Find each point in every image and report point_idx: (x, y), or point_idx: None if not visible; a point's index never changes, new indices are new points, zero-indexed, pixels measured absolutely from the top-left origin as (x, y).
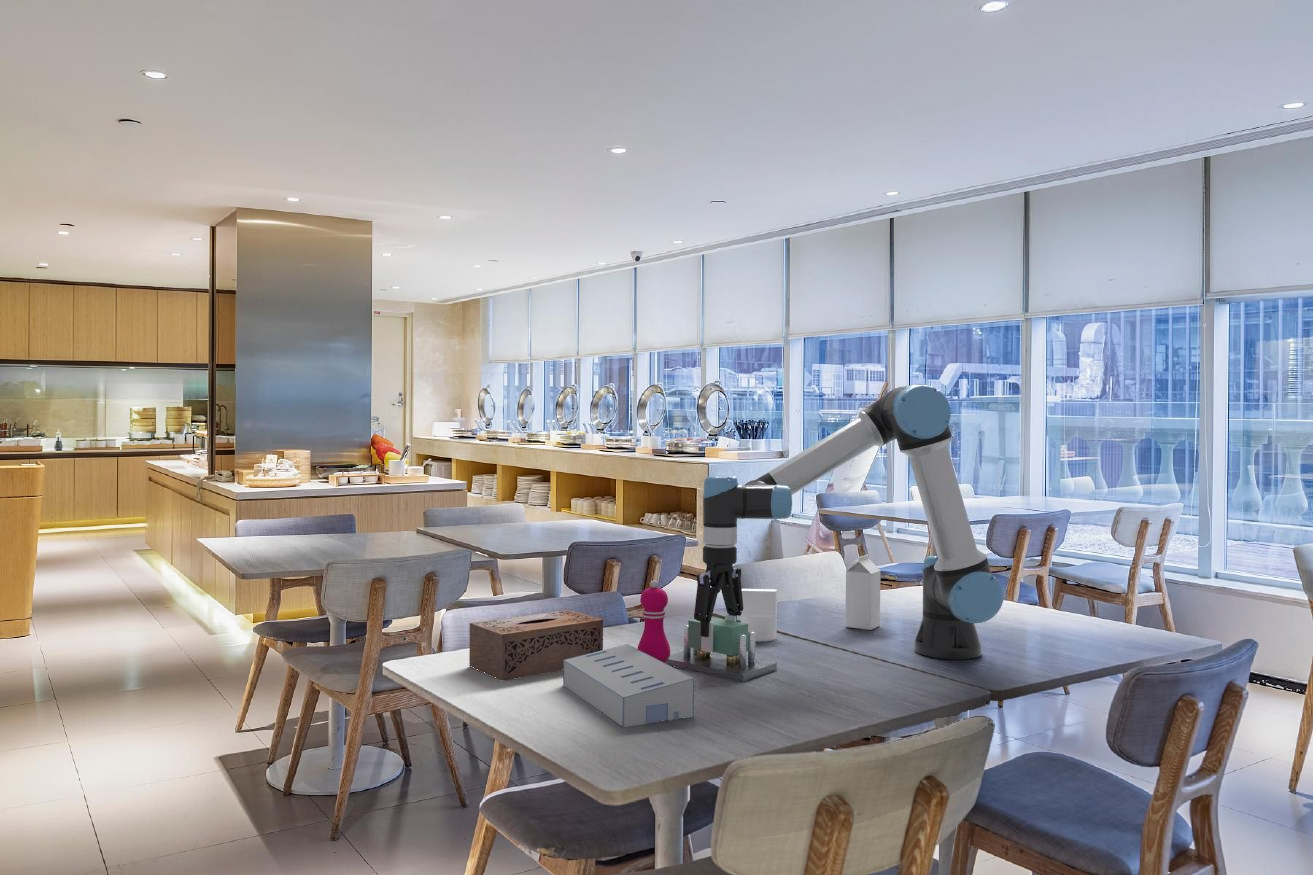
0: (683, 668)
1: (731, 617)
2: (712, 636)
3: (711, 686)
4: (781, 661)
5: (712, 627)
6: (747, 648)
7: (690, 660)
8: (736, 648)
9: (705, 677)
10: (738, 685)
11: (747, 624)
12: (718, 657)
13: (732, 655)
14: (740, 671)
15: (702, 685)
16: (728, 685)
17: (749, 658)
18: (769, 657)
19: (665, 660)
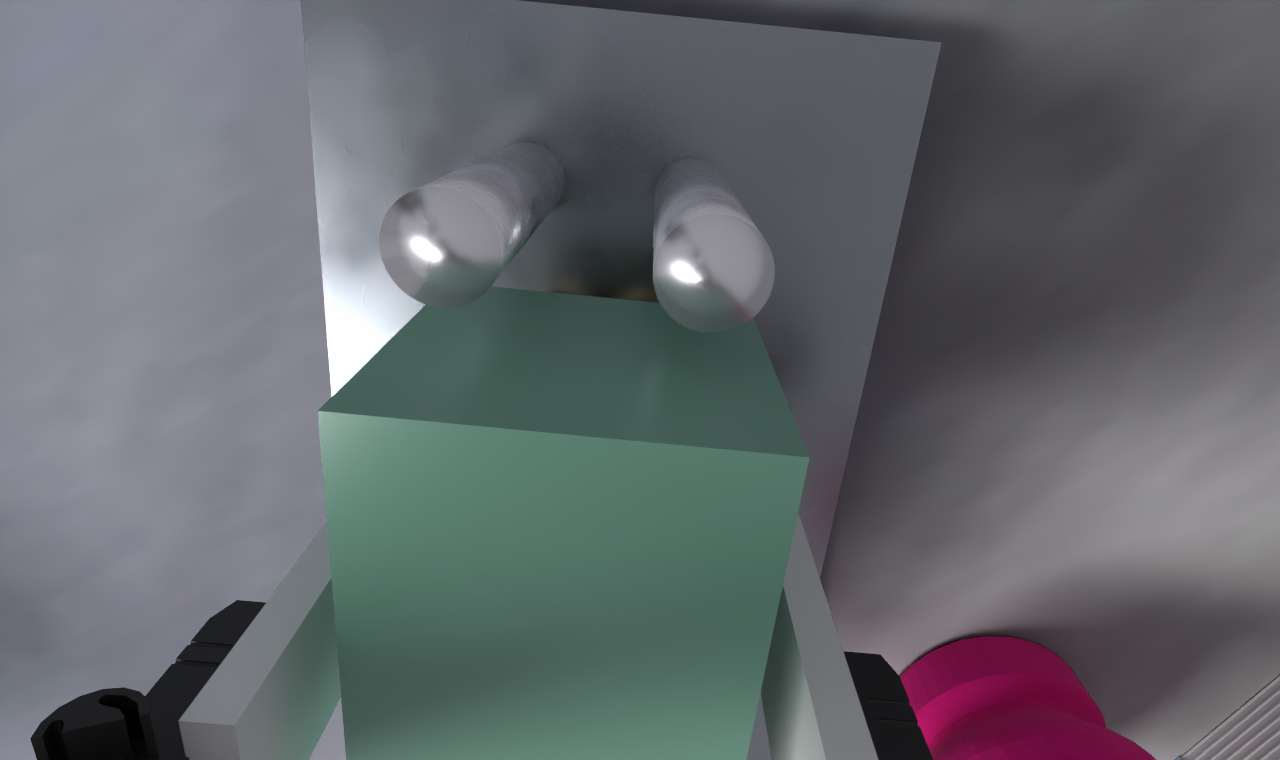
0: None
1: (253, 750)
2: (806, 620)
3: (1189, 208)
4: (40, 111)
5: (836, 710)
6: None
7: None
8: (671, 322)
9: (936, 386)
10: (1061, 15)
11: (343, 405)
12: None
13: None
14: (842, 130)
15: (1185, 285)
16: (1099, 97)
17: (557, 192)
18: (22, 276)
19: (1042, 713)
